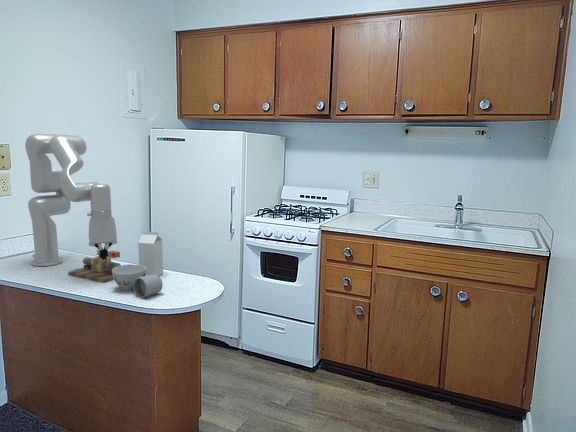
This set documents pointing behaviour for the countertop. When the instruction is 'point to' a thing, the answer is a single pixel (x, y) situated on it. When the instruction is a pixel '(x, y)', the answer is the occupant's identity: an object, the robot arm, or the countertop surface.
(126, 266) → the teacup
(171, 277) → the countertop surface
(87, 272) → the stand
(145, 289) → the ceramic mug
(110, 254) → the valve lever
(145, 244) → the milk carton
